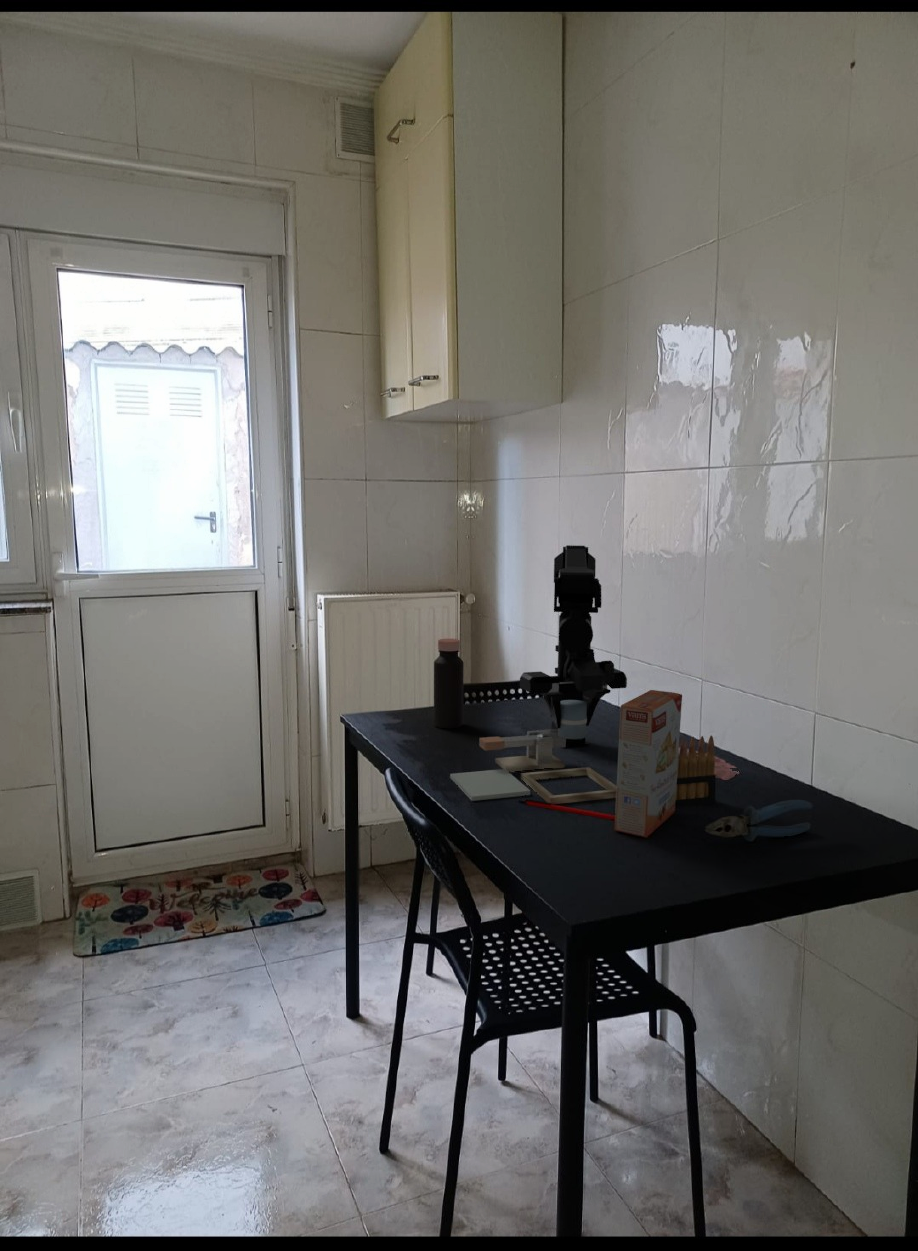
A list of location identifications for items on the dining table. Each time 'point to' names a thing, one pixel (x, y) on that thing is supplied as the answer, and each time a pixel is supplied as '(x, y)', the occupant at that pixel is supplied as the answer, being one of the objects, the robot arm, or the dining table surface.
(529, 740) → the cutter handle
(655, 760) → the cracker box
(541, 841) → the dining table surface
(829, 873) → the dining table surface
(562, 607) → the robot arm
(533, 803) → the pen
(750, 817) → the pliers
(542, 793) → the open square beige frame
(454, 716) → the bottle
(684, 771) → the ammunition clip
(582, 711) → the grey round canister
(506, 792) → the pad
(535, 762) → the base
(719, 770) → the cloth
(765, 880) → the dining table surface
